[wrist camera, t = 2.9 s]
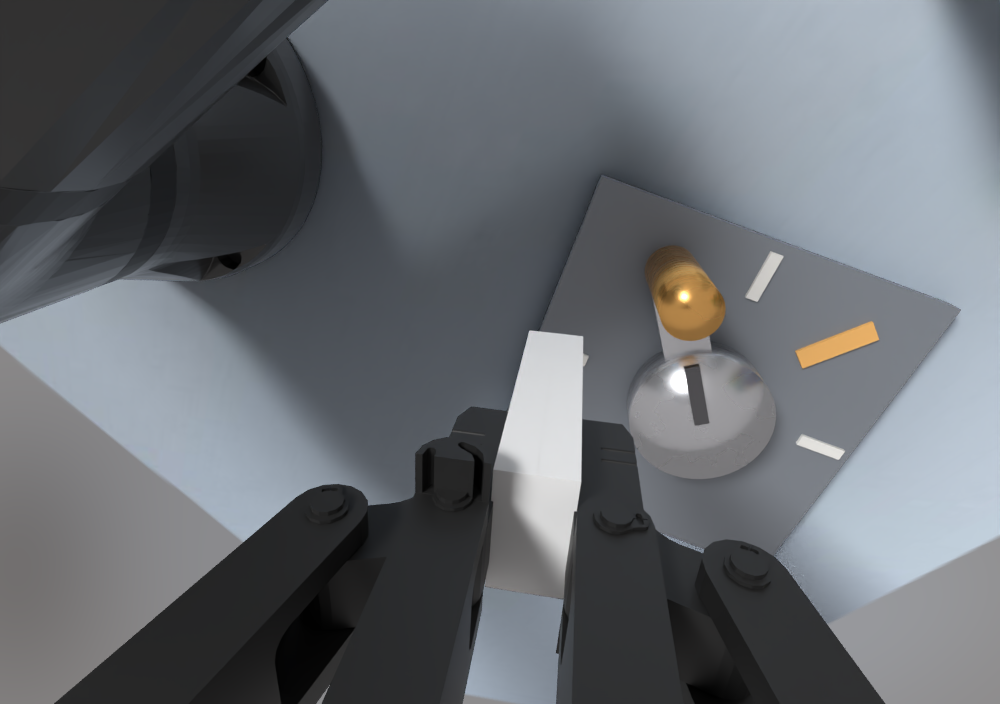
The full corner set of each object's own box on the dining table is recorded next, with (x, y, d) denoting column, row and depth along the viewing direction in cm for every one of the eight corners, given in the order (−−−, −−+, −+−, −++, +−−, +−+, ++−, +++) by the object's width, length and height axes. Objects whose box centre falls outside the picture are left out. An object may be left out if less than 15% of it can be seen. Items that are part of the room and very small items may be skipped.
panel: (487, 459, 34) (484, 470, 33) (601, 174, 26) (602, 177, 25) (757, 558, 34) (763, 572, 33) (948, 303, 27) (963, 311, 26)
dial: (770, 445, 30) (814, 524, 24) (639, 466, 31) (652, 544, 26) (742, 226, 25) (787, 259, 20) (592, 263, 27) (594, 303, 21)
